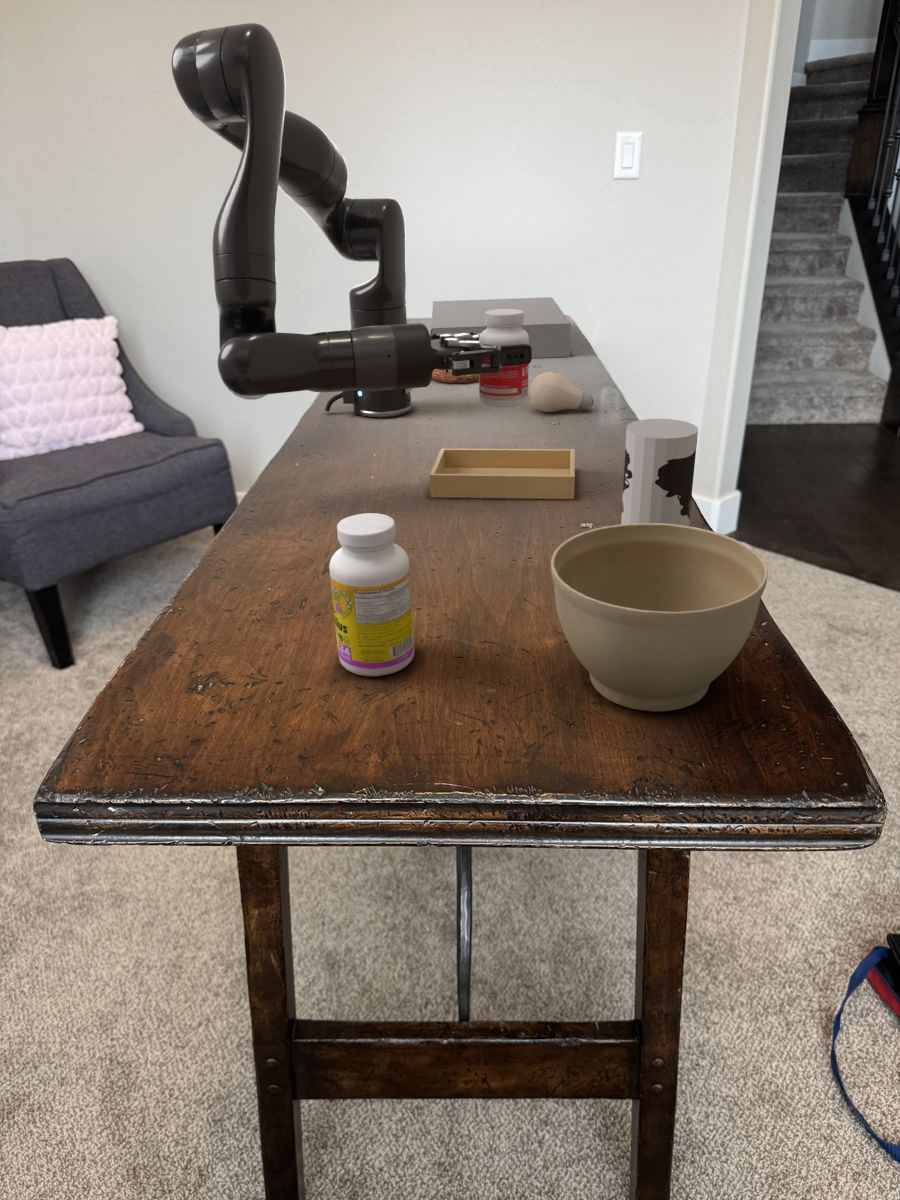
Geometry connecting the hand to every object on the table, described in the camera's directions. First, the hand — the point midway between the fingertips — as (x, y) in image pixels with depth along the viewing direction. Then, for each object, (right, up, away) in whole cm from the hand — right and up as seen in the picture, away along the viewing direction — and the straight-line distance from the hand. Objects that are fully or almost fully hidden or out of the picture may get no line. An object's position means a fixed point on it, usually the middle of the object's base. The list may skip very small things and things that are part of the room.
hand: (522, 348), depth 110 cm
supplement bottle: (-15, -36, -32) cm, 51 cm away
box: (+2, +27, +92) cm, 96 cm away
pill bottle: (-2, -6, +3) cm, 7 cm away
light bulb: (+10, 0, +38) cm, 40 cm away
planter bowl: (+7, -38, -37) cm, 53 cm away
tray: (-2, -16, +7) cm, 17 cm away
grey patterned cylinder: (+12, -28, -18) cm, 35 cm away
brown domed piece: (-7, +12, +63) cm, 65 cm away
